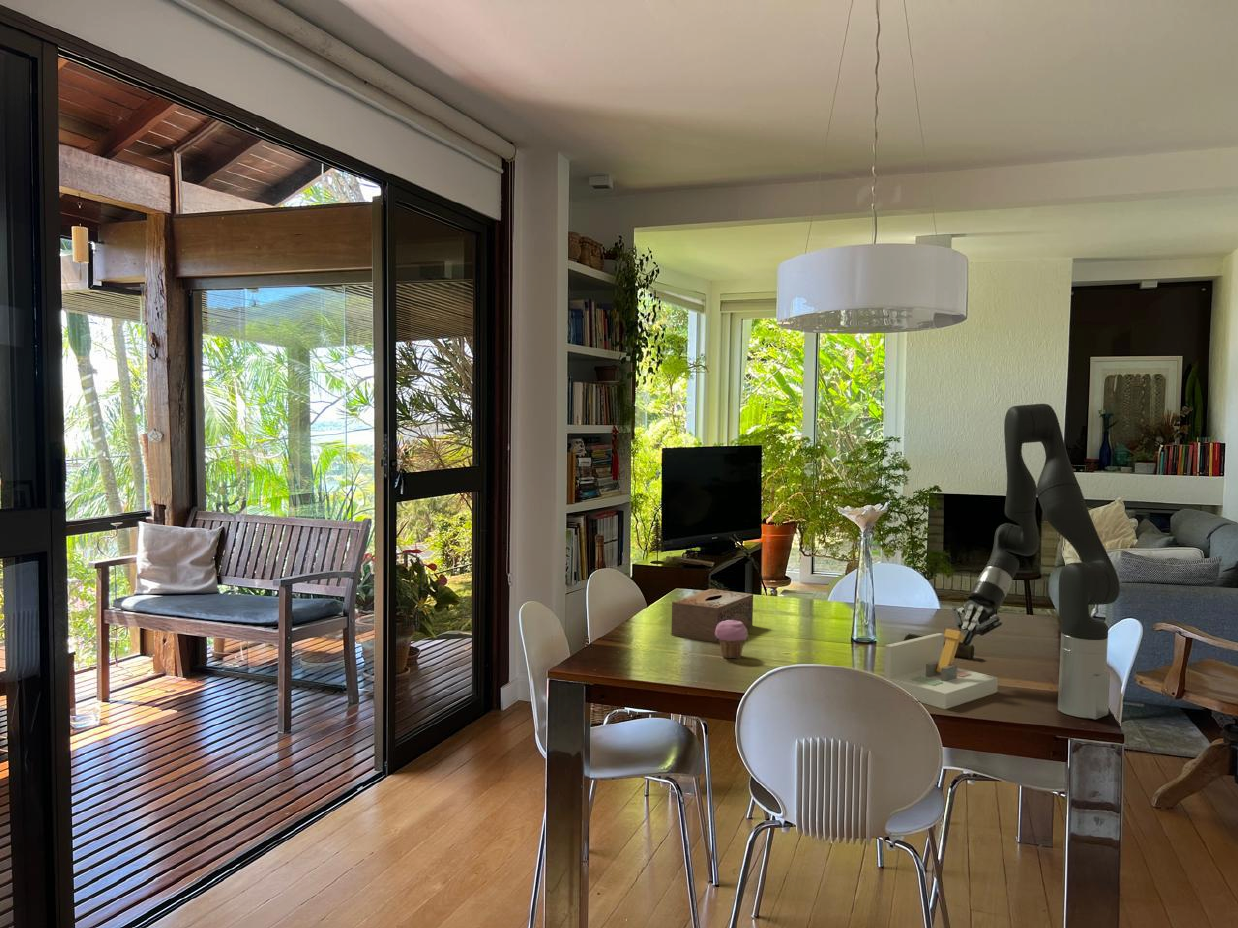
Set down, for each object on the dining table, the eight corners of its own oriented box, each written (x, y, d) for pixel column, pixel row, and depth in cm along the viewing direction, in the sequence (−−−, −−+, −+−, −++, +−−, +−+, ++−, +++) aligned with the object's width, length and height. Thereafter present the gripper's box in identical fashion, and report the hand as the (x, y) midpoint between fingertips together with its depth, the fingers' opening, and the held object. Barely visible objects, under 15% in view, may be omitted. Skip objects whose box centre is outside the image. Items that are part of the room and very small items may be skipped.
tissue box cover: (716, 643, 262) (717, 608, 262) (671, 635, 270) (672, 601, 269) (752, 626, 284) (753, 594, 284) (709, 620, 292) (710, 588, 291)
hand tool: (975, 658, 251) (976, 641, 250) (971, 661, 247) (971, 644, 247) (906, 647, 262) (906, 631, 261) (901, 650, 258) (901, 633, 258)
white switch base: (936, 676, 231) (938, 632, 230) (997, 692, 219) (999, 646, 218) (883, 691, 217) (885, 645, 217) (945, 709, 205) (947, 660, 204)
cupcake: (749, 661, 242) (750, 623, 241) (716, 661, 242) (717, 623, 241) (744, 652, 251) (745, 616, 250) (712, 652, 251) (713, 615, 250)
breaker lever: (938, 673, 220) (951, 631, 223) (951, 676, 217) (964, 634, 220) (933, 669, 219) (946, 628, 221) (946, 673, 216) (960, 631, 218)
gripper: (960, 575, 233) (931, 630, 226) (1011, 583, 223) (981, 641, 216) (971, 594, 237) (942, 648, 230) (1021, 603, 226) (992, 660, 219)
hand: (961, 644), depth 223 cm, fingers closed
